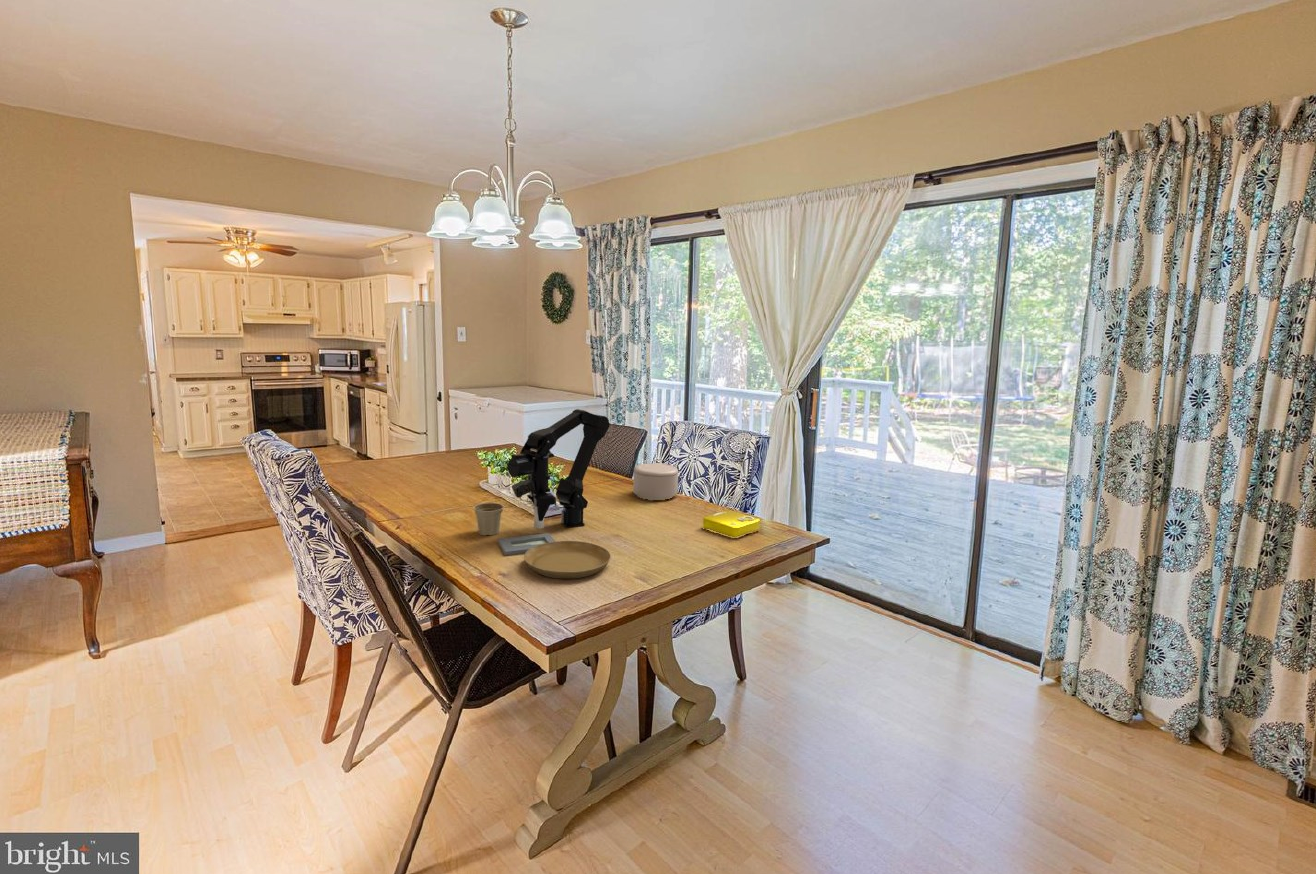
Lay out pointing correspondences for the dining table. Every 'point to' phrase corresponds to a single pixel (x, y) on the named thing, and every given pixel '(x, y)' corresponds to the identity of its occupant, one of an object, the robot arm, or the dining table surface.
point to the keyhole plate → (523, 543)
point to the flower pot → (488, 517)
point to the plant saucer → (567, 559)
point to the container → (655, 481)
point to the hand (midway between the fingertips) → (539, 519)
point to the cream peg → (537, 520)
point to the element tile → (731, 523)
